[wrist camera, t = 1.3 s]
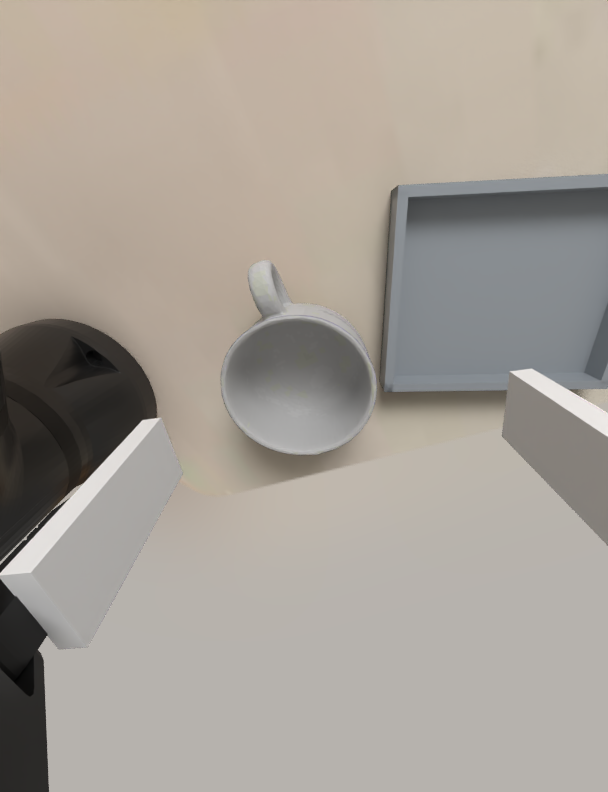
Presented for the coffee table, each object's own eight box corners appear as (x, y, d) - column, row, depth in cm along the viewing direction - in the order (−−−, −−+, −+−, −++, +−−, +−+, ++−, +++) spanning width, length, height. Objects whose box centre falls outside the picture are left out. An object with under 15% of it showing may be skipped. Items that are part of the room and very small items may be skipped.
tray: (379, 380, 30) (384, 391, 28) (391, 190, 24) (398, 185, 22) (585, 377, 29) (607, 388, 27) (654, 176, 23) (690, 169, 20)
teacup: (366, 405, 31) (379, 454, 24) (255, 414, 32) (235, 464, 25) (359, 246, 26) (373, 247, 18) (224, 263, 27) (187, 271, 19)
